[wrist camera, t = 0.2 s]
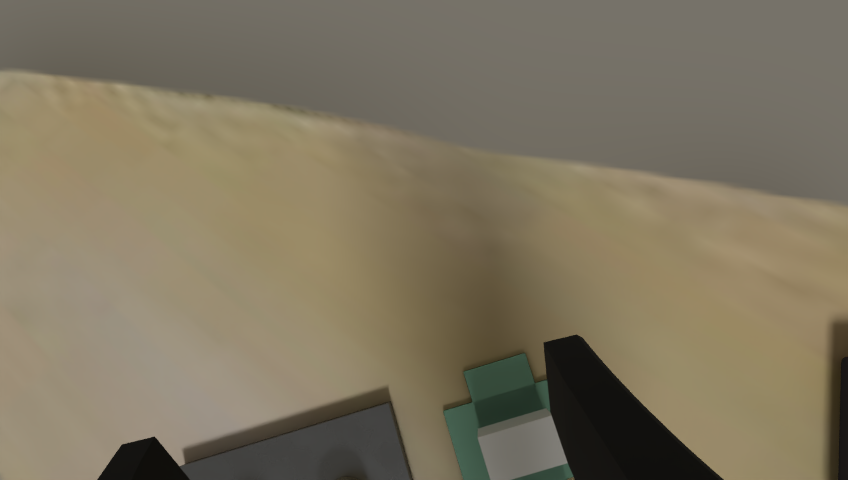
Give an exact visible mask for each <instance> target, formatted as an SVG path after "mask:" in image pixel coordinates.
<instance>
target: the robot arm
mask: <svg viewBox="0 0 848 480" xmlns="http://www.w3.org/2000/svg"><path fill="white" fill-rule="evenodd" d="M544 352H545V363H546V373H547V383H548V393H549V404H550V412H551V415H552V418H553V421H554V424H555V427H556V430H557V433H558V436H559V439H560V442H561V445H562V448H563V451H564V454H565V457H566V459H567V462H568V465H569V468H570V470H571V472H572V474H573V476H574V479H575V480H723V479H722V478H721V477H720V476H719V475H718V474H717V473H715V472H714V471H713V470H712V469H711V468H710V467H709V466H707V465H706V464H705V463H704V462H703V461H702V460H701V459H700V458H698V457H697V456H696V455H695V454H694V453H693V452H692V451H691V450H690V449H688V448H687V447H686V446H685V445H684V444H683V443H682V442H681V441H680V440H679V439H678V438H677V437H676V436H674V435H673V434H672V433H671V432H670V431H669V430H668V429H667V428H666V427H665V426H664V425H663V424H662V423H661V422H660V421H659V420H658V419H657V418H656V417H655V416H654V415H653V414H652V413H651V412H650V411H649V410H648V409H647V408H646V407H645V406H644V405H643V404H642V403H641V402H640V401H639V400H638V399H637V398H636V397H635V396H634V395H633V394H632V393H631V392H630V391H629V390H628V389H627V388H626V387H625V386H624V385H623V384H622V382H621V381H620V380H619V379H618V378H617V377H616V376H615V375H614V374H613V373H612V372H611V371H610V369H609V368H608V367H607V366H606V365H605V364H604V363H603V362H602V360H601V359H600V358H599V357H598V356H597V355H596V353H595V352H594V351H593V350H592V349H591V348H590V346H589V345H588V344H587V343H586V341H585V340H584V339H583V338H582V337H580V336H578V335H573V336H569V337H565V338H561V339H556V340H552V341H548V342H544ZM98 480H190V479H189V478H188V476H187V475H186V474H185V473H184V472H183V470H182V469H181V468H180V467H179V466H178V464H177V463H176V462H175V461H174V459H173V458H172V457H171V456H170V455H169V453H168V452H167V451H166V450H165V449H164V447H163V446H162V445H161V444H160V443H159V441H158V440H157V439H156V438H155V437H151V438H147V439H143V440H139V441H135V442H131V443H127V444H122V445H121V447H120V448H119V450H118V451H117V452H116V454H115V455H114V457H113V458H112V459H111V461H110V462H109V464H108V465H107V466H106V468H105V469H104V471H103V472H102V474H101V475H100V477H99V478H98Z"/></svg>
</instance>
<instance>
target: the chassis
mask: <svg viewBox="0 0 848 480" xmlns="http://www.w3.org/2000/svg"><path fill="white" fill-rule="evenodd" d="M179 467H180V468H181V469H182V470H183V472H184V473H185V474H186V475H187V476H188V478H189V479H190V480H412V476H411V472H410V469H409V465H408V462H407V458H406V455H405V451H404V447H403V444H402V440H401V437H400V433H399V430H398V426H397V423H396V419H395V415H394V412H393V408H392V405H391V401H390V402H387V403H384V404H380V405H377V406H374V407H370V408H367V409H364V410H361V411H357V412H354V413H351V414H347V415H344V416H341V417H338V418H334V419H331V420H328V421H324V422H321V423H318V424H315V425H311V426H308V427H305V428H301V429H298V430H295V431H292V432H288V433H285V434H282V435H278V436H275V437H272V438H269V439H265V440H262V441H259V442H255V443H252V444H249V445H246V446H242V447H239V448H236V449H233V450H229V451H226V452H223V453H219V454H216V455H213V456H210V457H206V458H203V459H200V460H196V461H193V462H190V463H187V464H184V465H182V466H179Z"/></svg>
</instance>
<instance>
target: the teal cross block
mask: <svg viewBox="0 0 848 480" xmlns="http://www.w3.org/2000/svg"><path fill="white" fill-rule="evenodd" d="M464 376H465V379H466V382H467V385H468V389H469V392H470V395H471V398H472V402H471V403H467V404H464V405H461V406H457V407H454V408H451V409H447V410H444V411H443V412H444V416H445V419H446V422H447V426H448V429H449V432H450V436H451V439H452V443H453V446H454V449H455V453H456V456H457V459H458V463H459V466H460V470H461V473H462V476H463V480H567V478H571V477H574V476H573V474H572V472H571V470H570V468H569V465H568V462H567V459H566V457H565V454H564V451H563V448H562V445H561V442H560V439H559V436H558V433H557V430H556V427H555V424H554V421H553V418H552V415H551V412H550V404H549V393H548V383H547V380H543V381H540V382H537V383H535V382H534V379H533V376H532V373H531V370H530V367H529V364H528V361H527V358H526V355H525V353H523V354H520V355H516V356H513V357H510V358H507V359H503V360H500V361H497V362H493V363H490V364H487V365H484V366H480V367H477V368H474V369H471V370H467V371H464Z"/></svg>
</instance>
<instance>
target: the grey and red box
mask: <svg viewBox="0 0 848 480" xmlns="http://www.w3.org/2000/svg"><path fill="white" fill-rule="evenodd" d="M838 480H848V357H845V358H843V360H842V362H841V394H840V434H839V473H838Z"/></svg>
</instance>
